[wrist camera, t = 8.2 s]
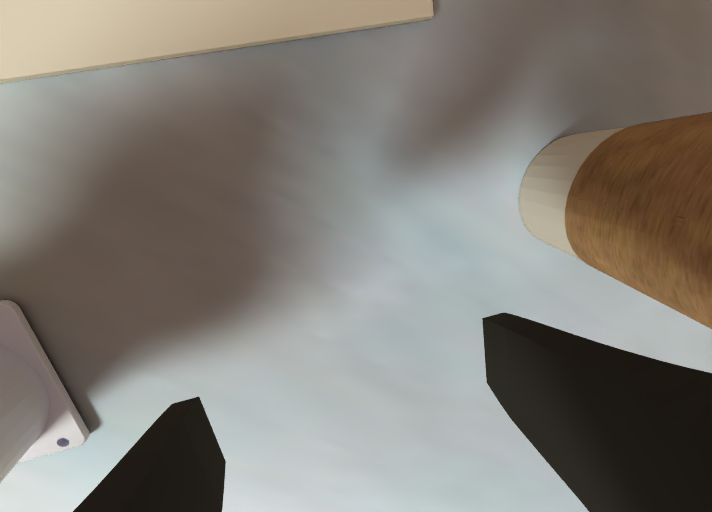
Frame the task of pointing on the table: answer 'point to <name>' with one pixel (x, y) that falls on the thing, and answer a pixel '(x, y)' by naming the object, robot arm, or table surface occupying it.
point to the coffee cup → (632, 207)
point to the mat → (171, 29)
